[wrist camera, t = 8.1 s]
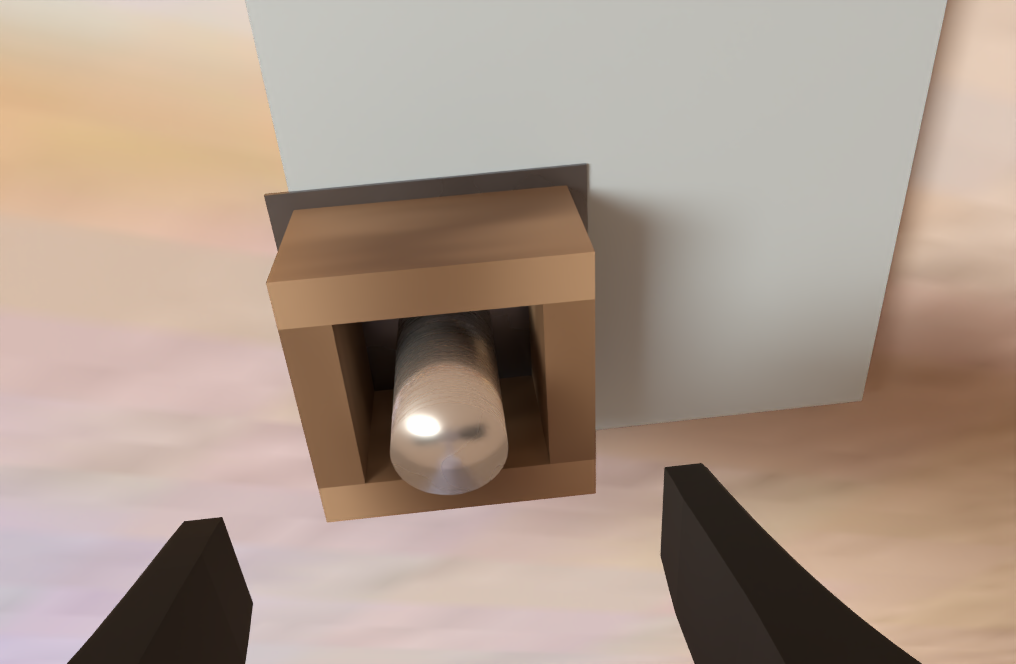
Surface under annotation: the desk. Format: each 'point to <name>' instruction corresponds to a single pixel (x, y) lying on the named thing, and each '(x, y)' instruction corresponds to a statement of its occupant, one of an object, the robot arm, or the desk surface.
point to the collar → (430, 291)
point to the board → (647, 163)
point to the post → (444, 343)
